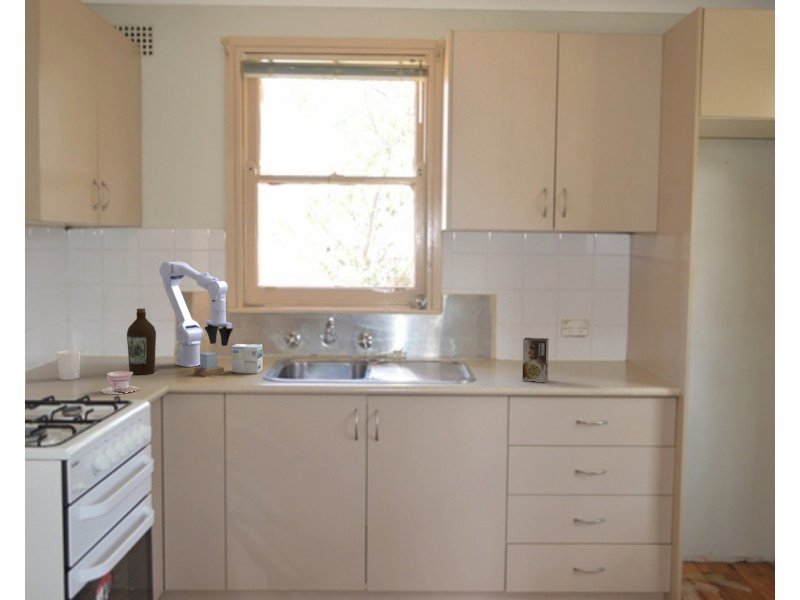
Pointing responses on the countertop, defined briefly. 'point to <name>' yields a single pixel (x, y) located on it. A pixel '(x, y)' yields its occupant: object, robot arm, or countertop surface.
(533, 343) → the coffee box
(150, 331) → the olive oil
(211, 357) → the blue grey block
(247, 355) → the light bulb box
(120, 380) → the teacup
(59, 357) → the white cup
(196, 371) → the walnut block
